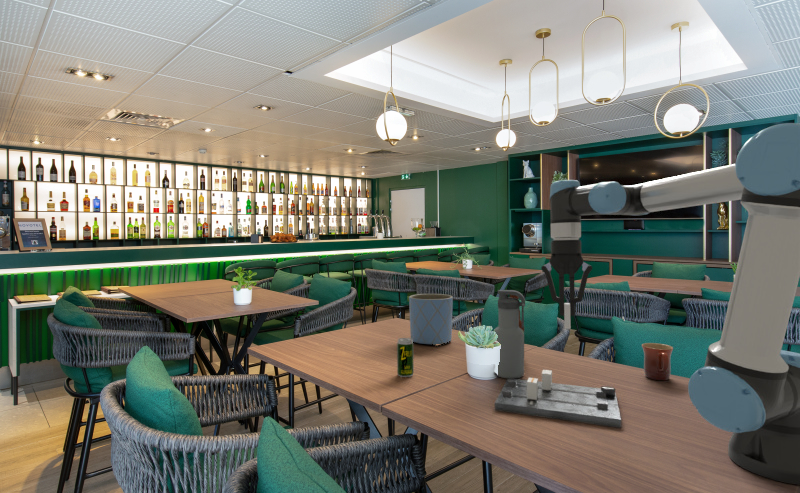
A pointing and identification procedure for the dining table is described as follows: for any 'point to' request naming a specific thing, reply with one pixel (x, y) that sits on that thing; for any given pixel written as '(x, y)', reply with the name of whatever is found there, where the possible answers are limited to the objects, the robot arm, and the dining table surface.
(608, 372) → the dining table surface
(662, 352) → the mug
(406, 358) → the beer can
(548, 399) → the console board
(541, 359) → the dining table surface
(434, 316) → the planter
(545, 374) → the fader
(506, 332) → the water bottle
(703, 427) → the dining table surface
